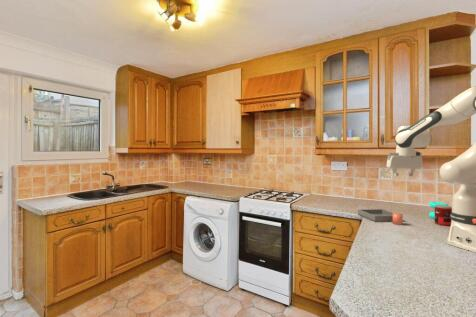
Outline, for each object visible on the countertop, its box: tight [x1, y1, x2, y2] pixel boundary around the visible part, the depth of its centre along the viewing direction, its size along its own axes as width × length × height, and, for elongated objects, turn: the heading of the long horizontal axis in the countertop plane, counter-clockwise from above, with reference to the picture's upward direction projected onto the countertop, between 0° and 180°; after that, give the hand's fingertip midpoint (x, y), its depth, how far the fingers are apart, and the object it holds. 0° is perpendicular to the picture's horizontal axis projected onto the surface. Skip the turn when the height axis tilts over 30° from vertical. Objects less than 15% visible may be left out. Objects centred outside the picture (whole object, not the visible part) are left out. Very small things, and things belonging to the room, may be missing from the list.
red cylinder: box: [391, 212, 403, 226], centre depth 151 cm, size 5×5×6 cm
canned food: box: [433, 205, 452, 227], centre depth 151 cm, size 8×8×11 cm
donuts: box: [428, 201, 449, 219], centre depth 166 cm, size 10×10×10 cm
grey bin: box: [357, 208, 394, 223], centre depth 165 cm, size 18×18×4 cm
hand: (403, 176), depth 150 cm, fingers open, 8 cm apart
